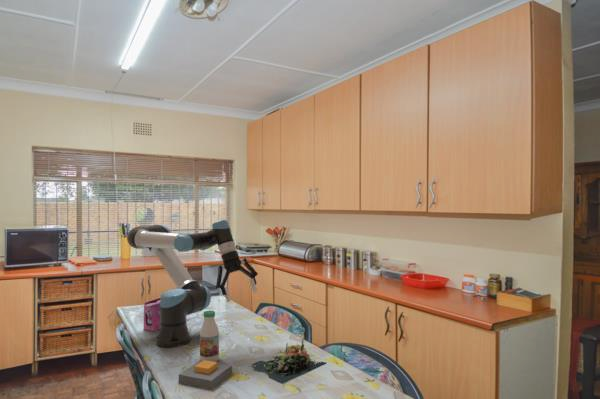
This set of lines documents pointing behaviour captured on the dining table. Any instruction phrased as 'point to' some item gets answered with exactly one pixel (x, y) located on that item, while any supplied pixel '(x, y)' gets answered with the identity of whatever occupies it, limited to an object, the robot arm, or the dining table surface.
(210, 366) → the button
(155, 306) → the gum box
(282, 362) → the plated dish
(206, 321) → the milk bottle
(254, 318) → the dining table surface
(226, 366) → the grey square slab
